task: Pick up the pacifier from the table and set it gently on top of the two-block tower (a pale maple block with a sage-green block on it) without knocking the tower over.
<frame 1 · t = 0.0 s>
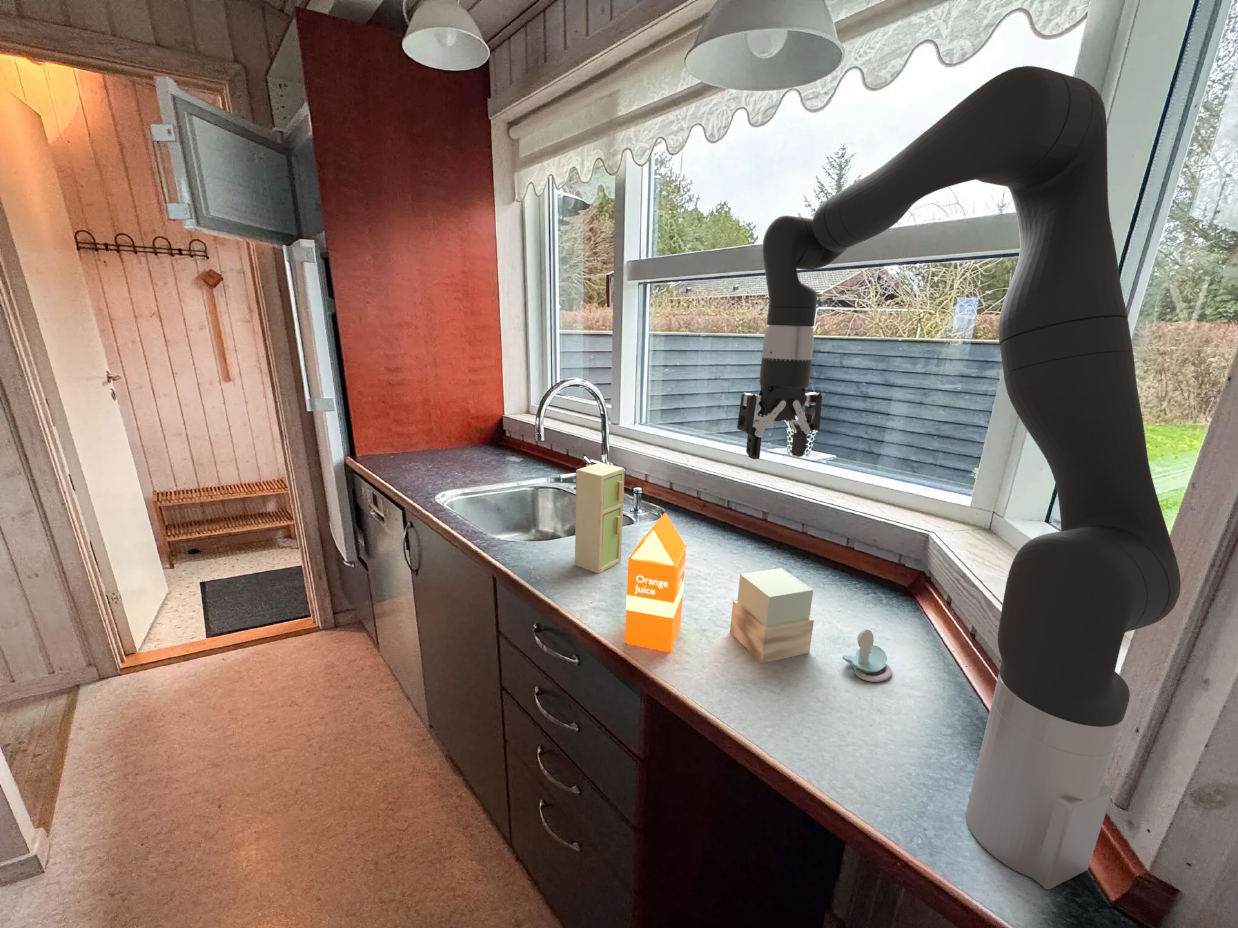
hand: (775, 456, 88), 29 cm above the counter, tool pointing down, fingers open, 8 cm apart
sage block: (772, 610, 87), point 6 cm above the counter, touching maple block
toy refrigerator: (599, 564, 115), on the counter
maple block: (768, 643, 88), on the counter, touching sage block
pacifier: (867, 671, 82), on the counter
orange juice: (653, 634, 90), on the counter
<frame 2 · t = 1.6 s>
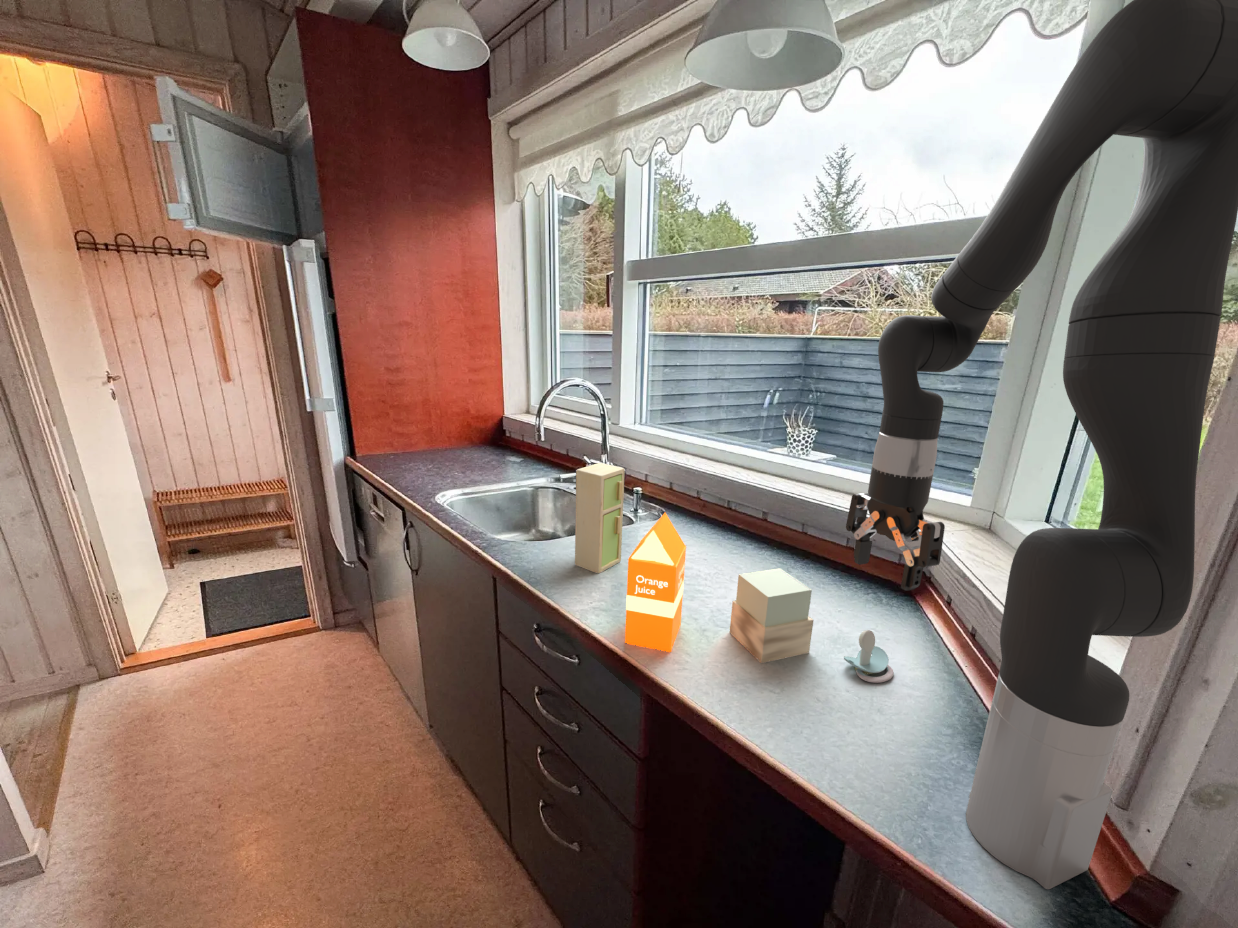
hand: (883, 575, 78), 16 cm above the counter, tool pointing down, fingers open, 8 cm apart
nothing on the counter moved.
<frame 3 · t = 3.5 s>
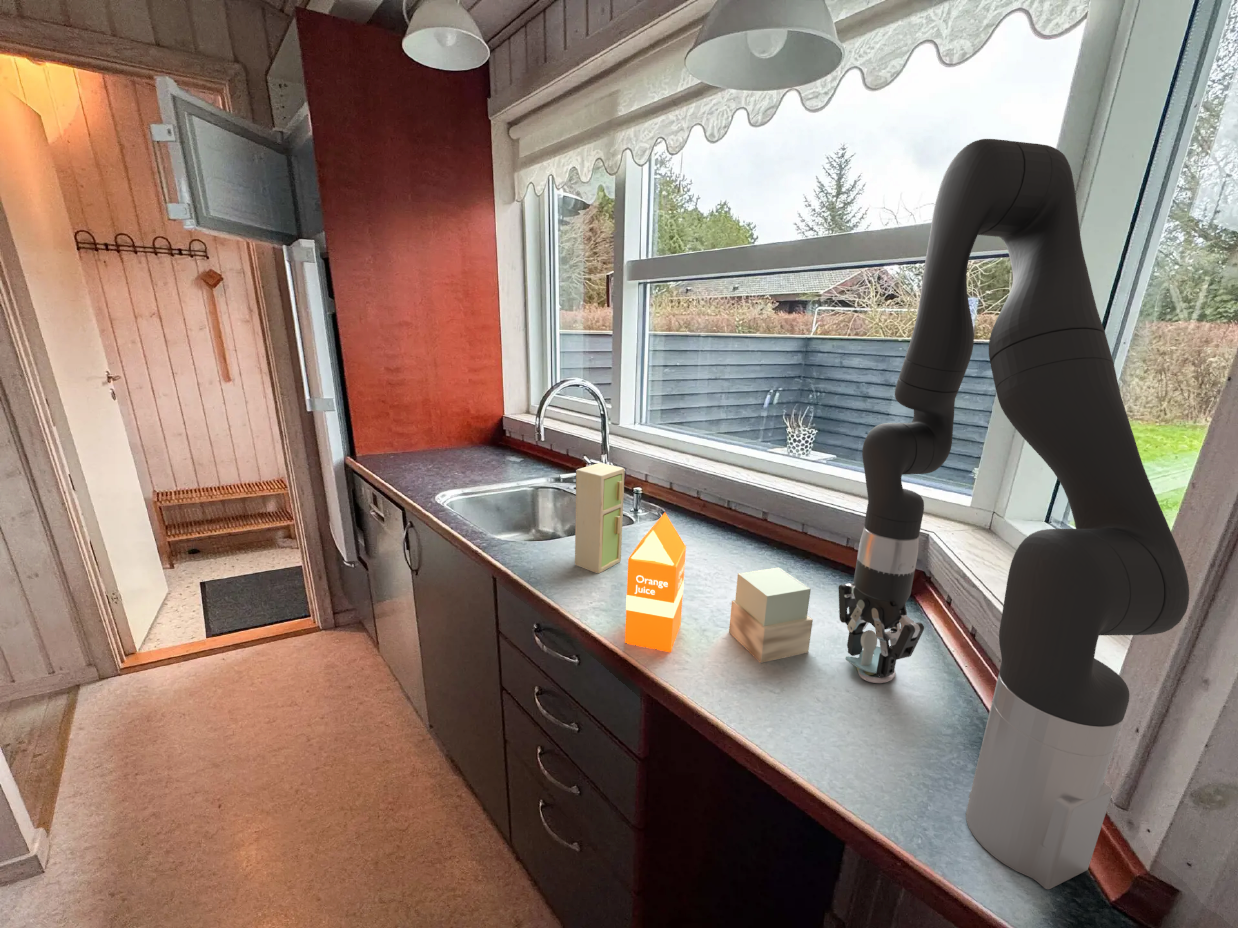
hand: (868, 663, 82), 1 cm above the counter, tool pointing down, fingers closed on pacifier, 5 cm apart
pacifier: (870, 673, 81), on the counter, touching gripper
everything else where it was.
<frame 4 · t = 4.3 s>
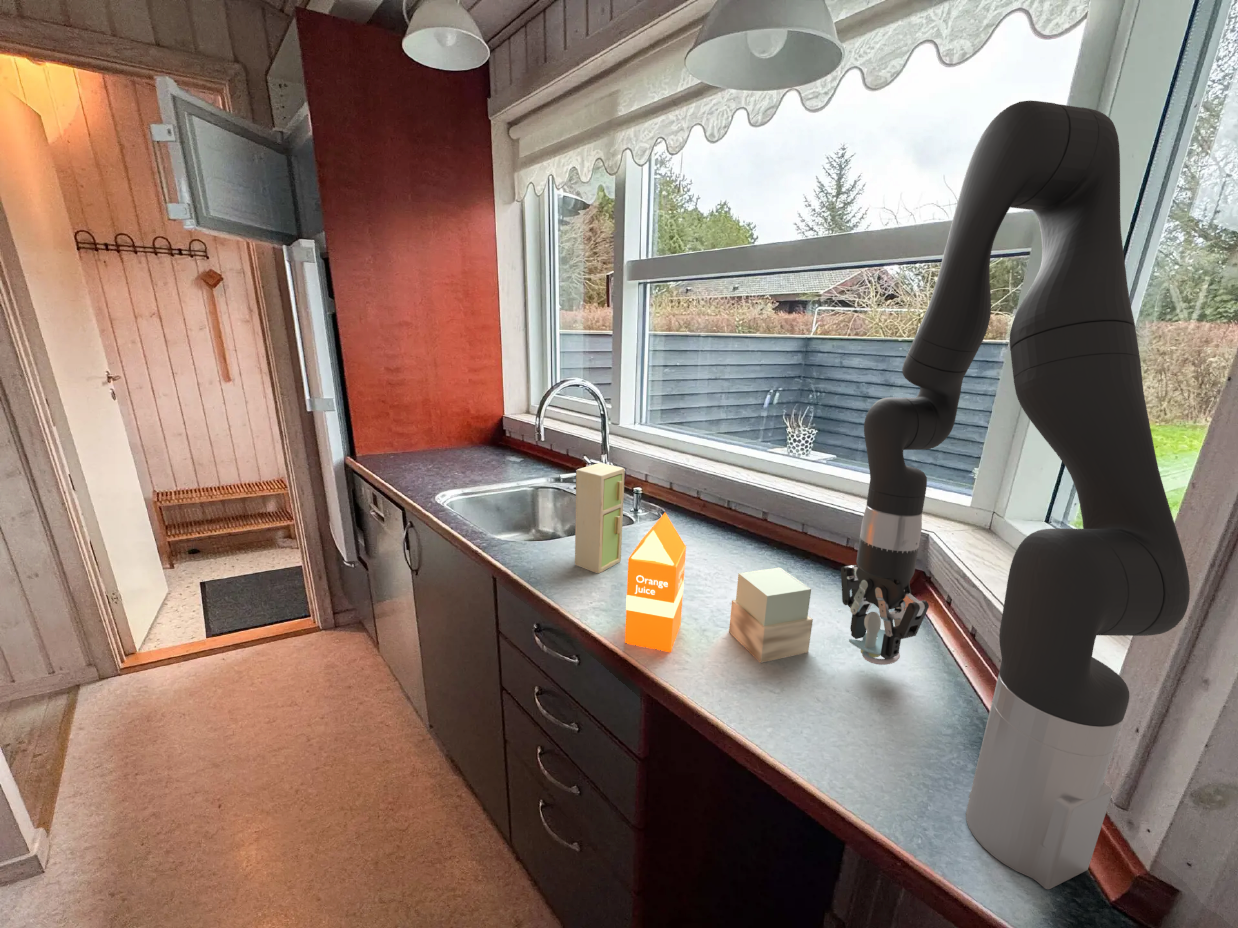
hand: (872, 646, 80), 4 cm above the counter, tool pointing down, fingers closed on pacifier, 5 cm apart
pacifier: (875, 655, 80), point 3 cm above the counter, touching gripper
everything else where it was.
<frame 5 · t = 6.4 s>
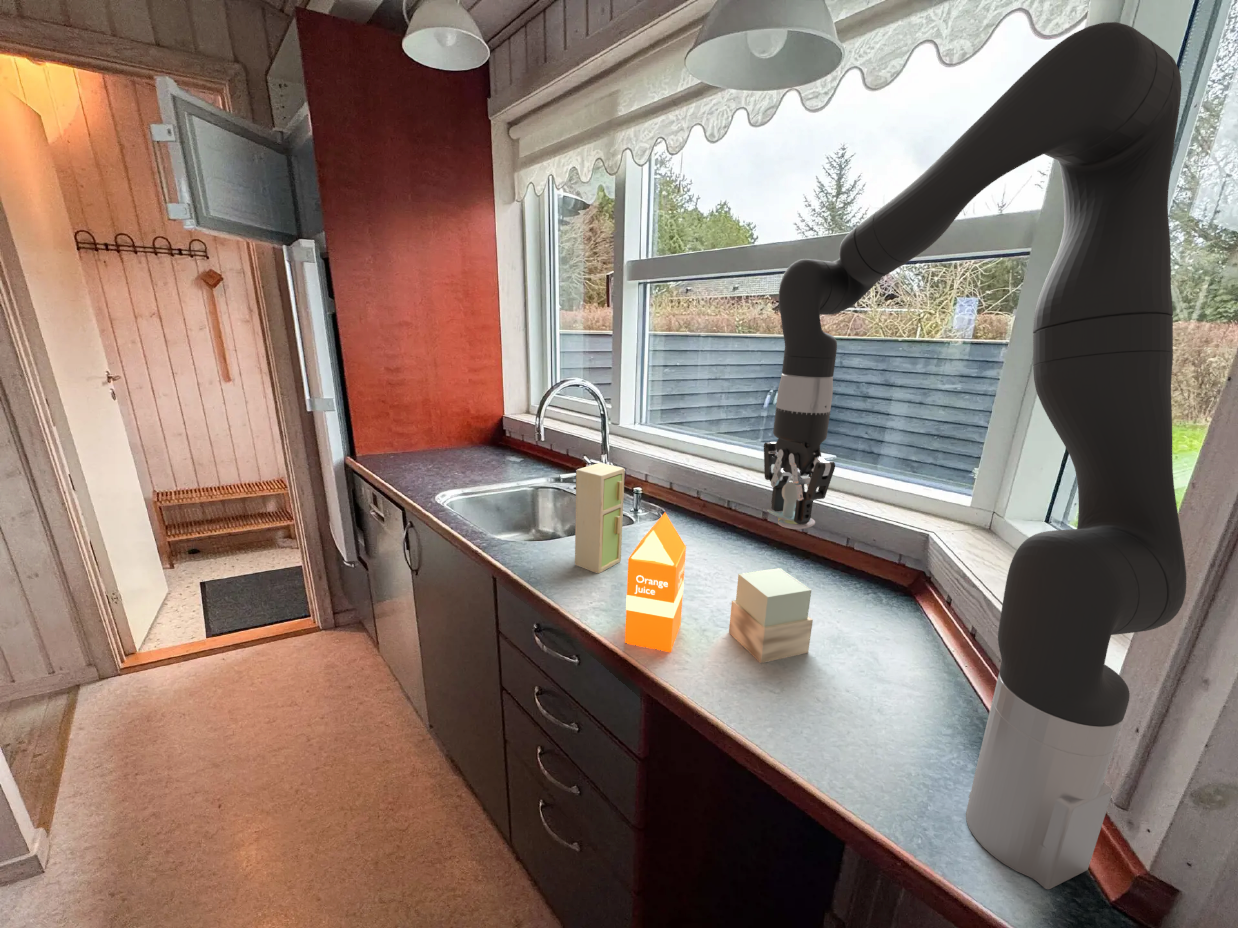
hand: (789, 515, 83), 22 cm above the counter, tool pointing down, fingers closed on pacifier, 5 cm apart
pacifier: (791, 524, 83), point 21 cm above the counter, touching gripper
everything else where it was.
when the fingers open (13 cm above the counter, at t = 8.8 s): pacifier drops 1 cm, resting on sage block.
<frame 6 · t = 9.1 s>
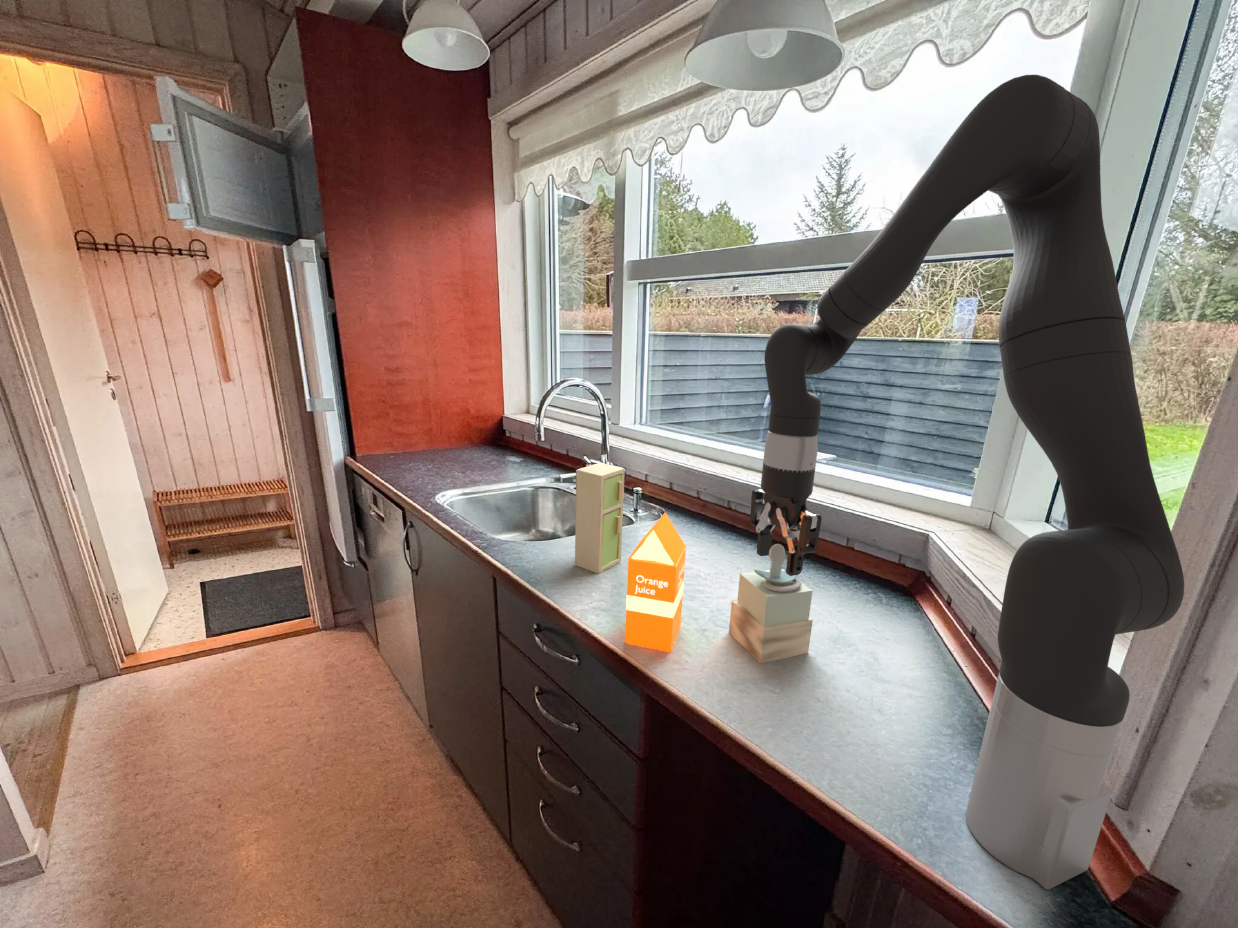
hand: (777, 564, 85), 14 cm above the counter, tool pointing down, fingers open, 7 cm apart
sage block: (771, 610, 87), point 6 cm above the counter, touching pacifier
maple block: (767, 642, 88), on the counter
pacifier: (778, 585, 85), point 11 cm above the counter, touching sage block
everything else where it was.
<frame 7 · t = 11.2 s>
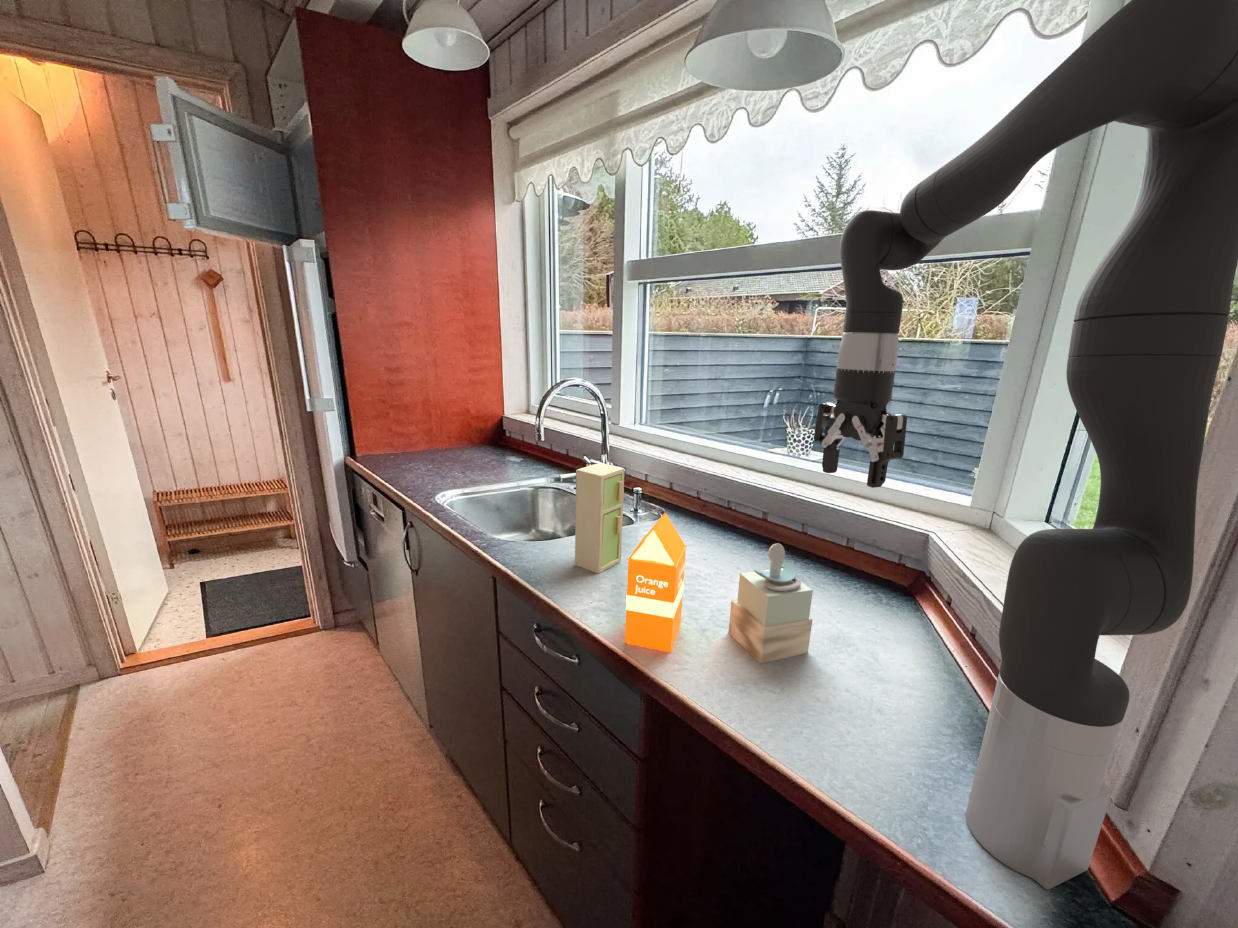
hand: (850, 479, 79), 29 cm above the counter, tool pointing down, fingers open, 8 cm apart
sage block: (772, 609, 87), point 6 cm above the counter, touching maple block, pacifier
maple block: (767, 642, 88), on the counter, touching sage block
everything else where it was.
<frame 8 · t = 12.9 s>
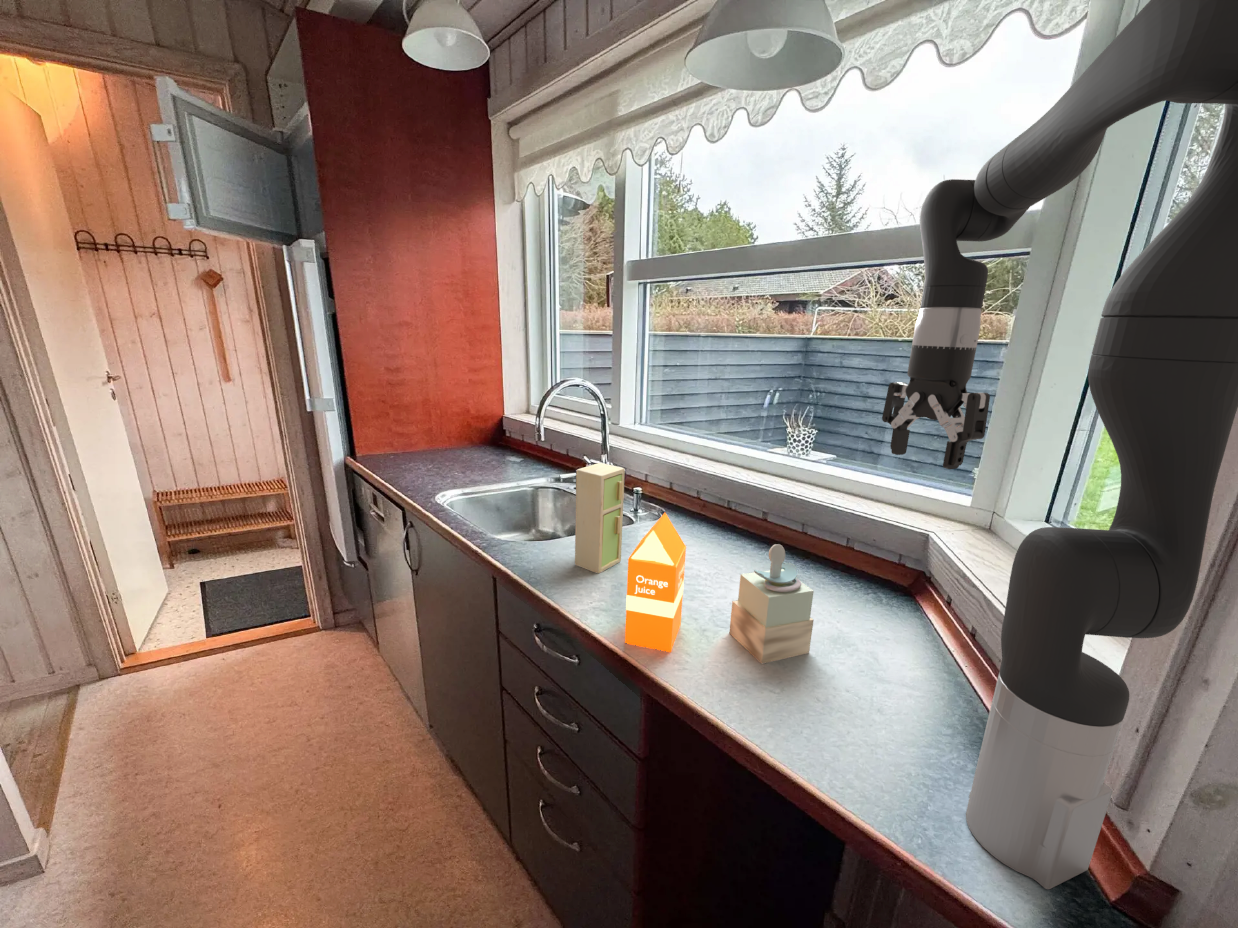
hand: (922, 460, 77), 32 cm above the counter, tool pointing down, fingers open, 8 cm apart
nothing on the counter moved.
at the end: pacifier inside the target area on the sage block (0.7 cm from its centre), point 4.8 cm above the sage block's base; sage block 0.2 cm off-centre on the maple block, point 6.0 cm above the maple block's base; maple block moved 0.3 cm from its start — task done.
